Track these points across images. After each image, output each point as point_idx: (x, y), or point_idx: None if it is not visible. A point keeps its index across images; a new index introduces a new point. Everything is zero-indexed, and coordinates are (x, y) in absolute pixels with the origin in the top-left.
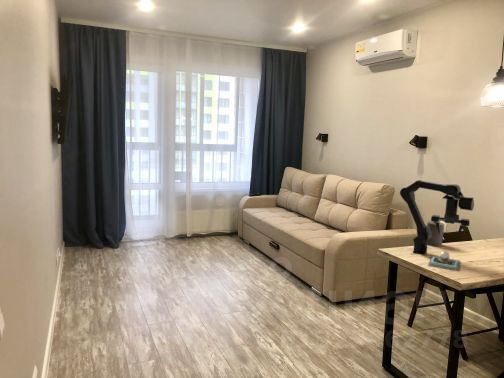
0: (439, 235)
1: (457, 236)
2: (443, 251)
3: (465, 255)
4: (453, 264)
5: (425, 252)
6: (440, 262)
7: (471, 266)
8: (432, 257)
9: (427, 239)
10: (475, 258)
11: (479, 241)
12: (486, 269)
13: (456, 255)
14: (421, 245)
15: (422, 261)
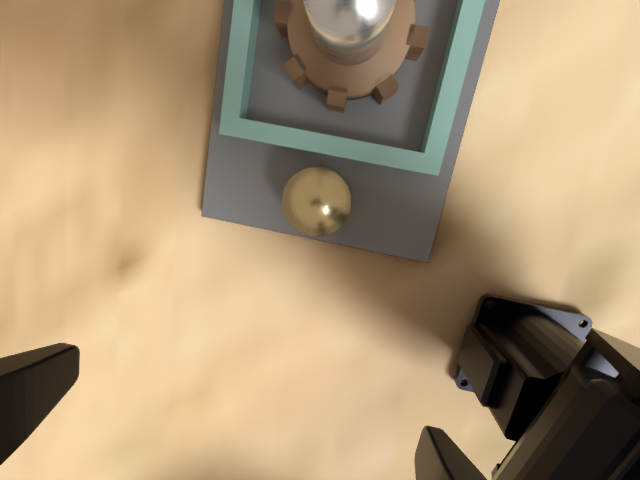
0: None
1: (65, 348)
2: (367, 28)
3: (154, 407)
4: (265, 51)
5: (477, 325)
6: None
7: (123, 110)
8: (431, 207)
9: (572, 370)
10: (90, 357)
11: None
12: (17, 77)
13: (217, 382)
14: (567, 351)
15: (548, 55)
